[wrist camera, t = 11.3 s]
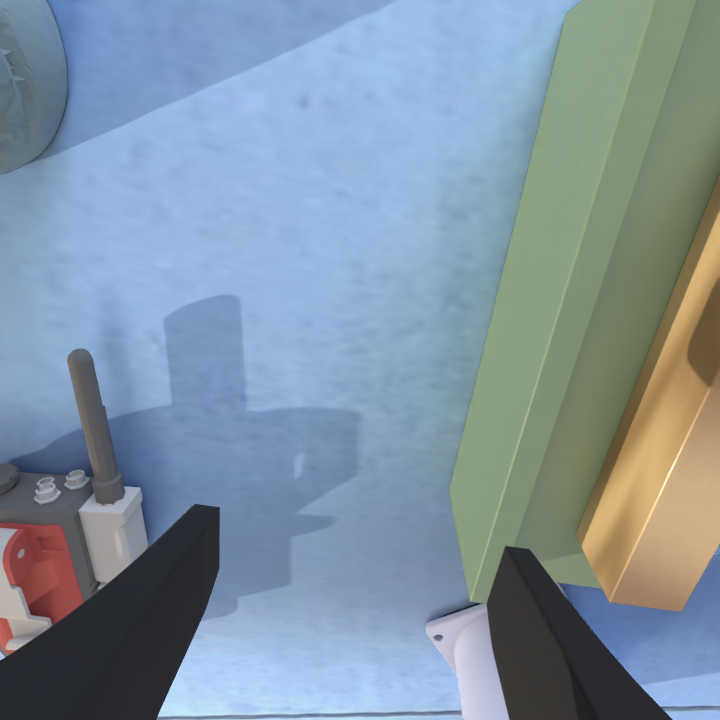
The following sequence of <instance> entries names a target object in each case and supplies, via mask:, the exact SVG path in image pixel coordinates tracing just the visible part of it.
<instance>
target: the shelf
mask: <svg viewBox="0 0 720 720" xmlns="http://www.w3.org/2000/svg"><path fill="white" fill-rule="evenodd" d="M719 174H720V0H582V1H581V2H579V3H578V4H577V5H576V6H574V7H573V8H572V9H571V10H570V11H568V12H567V14H566V16H565V21H564V25H563V29H562V33H561V37H560V41H559V45H558V49H557V53H556V57H555V61H554V65H553V69H552V73H551V77H550V81H549V86H548V90H547V94H546V98H545V102H544V106H543V110H542V114H541V118H540V122H539V126H538V130H537V134H536V138H535V142H534V146H533V150H532V155H531V159H530V163H529V167H528V171H527V175H526V179H525V183H524V187H523V191H522V195H521V199H520V203H519V207H518V211H517V215H516V219H515V224H514V228H513V232H512V236H511V240H510V244H509V248H508V252H507V256H506V260H505V264H504V268H503V272H502V276H501V280H500V284H499V288H498V293H497V297H496V301H495V305H494V309H493V313H492V317H491V321H490V325H489V329H488V333H487V337H486V341H485V345H484V349H483V353H482V358H481V362H480V366H479V370H478V374H477V378H476V382H475V386H474V390H473V394H472V398H471V402H470V406H469V410H468V414H467V418H466V422H465V427H464V431H463V435H462V439H461V443H460V447H459V451H458V455H457V459H456V463H455V467H454V471H453V475H452V479H451V483H450V487H449V494H450V499H451V504H452V510H453V515H454V520H455V526H456V531H457V536H458V541H459V547H460V552H461V557H462V563H463V568H464V573H465V579H466V584H467V589H468V594H469V600H470V601H471V602H476V603H483V604H487V601H488V597H489V594H490V591H491V588H492V585H493V582H494V579H495V576H496V573H497V570H498V567H499V564H500V561H501V558H502V554H503V551H504V548H505V546H511V547H519V548H526V549H530V550H531V551H532V553H533V554H534V555H535V557H536V558H537V559H538V561H539V562H540V563H541V565H542V566H543V567H544V569H545V570H546V571H547V573H548V574H549V575H550V577H551V578H552V579H553V581H554V582H558V583H565V584H573V585H580V586H587V587H595V588H602V587H601V585H600V583H599V581H598V579H597V577H596V575H595V573H594V571H593V569H592V567H591V565H590V563H589V561H588V559H587V557H586V555H585V553H584V551H583V549H582V547H581V545H580V543H579V541H578V539H577V537H576V532H577V530H578V527H579V525H580V522H581V520H582V517H583V515H584V512H585V510H586V507H587V505H588V502H589V500H590V497H591V495H592V492H593V490H594V487H595V485H596V482H597V480H598V477H599V475H600V472H601V470H602V467H603V465H604V462H605V460H606V457H607V455H608V452H609V450H610V447H611V445H612V442H613V440H614V437H615V435H616V432H617V430H618V427H619V425H620V422H621V420H622V417H623V415H624V412H625V410H626V407H627V405H628V402H629V400H630V397H631V395H632V392H633V390H634V387H635V384H636V382H637V379H638V377H639V374H640V372H641V369H642V367H643V364H644V362H645V359H646V357H647V354H648V352H649V349H650V347H651V344H652V342H653V339H654V337H655V334H656V332H657V329H658V327H659V324H660V322H661V319H662V317H663V314H664V312H665V309H666V307H667V304H668V302H669V299H670V297H671V294H672V292H673V289H674V287H675V284H676V282H677V279H678V277H679V274H680V272H681V269H682V267H683V264H684V262H685V259H686V257H687V254H688V252H689V249H690V247H691V244H692V242H693V239H694V237H695V234H696V232H697V229H698V227H699V224H700V222H701V219H702V217H703V214H704V212H705V209H706V207H707V204H708V202H709V199H710V197H711V194H712V192H713V189H714V187H715V184H716V182H717V179H718V177H719Z"/></svg>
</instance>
